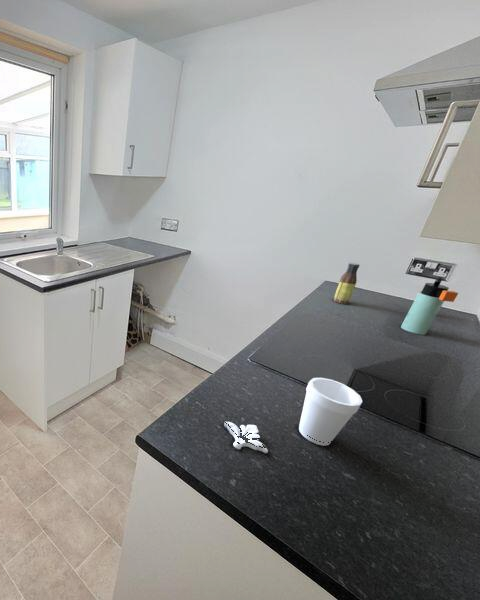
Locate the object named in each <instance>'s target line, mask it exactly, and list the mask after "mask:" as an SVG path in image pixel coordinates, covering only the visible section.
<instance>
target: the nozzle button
mask: <svg viewBox="0 0 480 600" xmlns="http://www.w3.org/2000/svg"><path fill="white" fill-rule="evenodd" d="M458 295H459V292H457V291H454V290H448V291H445V290H443V291H442V293H441V295H440V297H439V299H440V300H442V301H444V302H450V303H454V302H455V300H456V298H457V297H458Z"/></svg>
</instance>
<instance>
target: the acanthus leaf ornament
mask: <svg viewBox="0 0 480 600" xmlns="http://www.w3.org/2000/svg"><path fill="white" fill-rule="evenodd" d="M225 422H226V423H227V424H226V423H225ZM225 422H223V423H224V424H223V425H224V427H225V428H226V429H227V431H228V432H229V434H230V435H232V436H233V438H234V440H235V441H234V442H233V445H232V446H233V447H234V448H235V449H237V450H241V449H242V448H243V447H247V448H250V449H253V450H254V451H259V452H262V453H264V454H268V453H269V449H268V448H267V447H266V448H264V447H263V445H264V444H263V443H262V442H261V441H259V440H260V439H257V440H252V438H261V436H260V435H259V433H260V431H259V429H258V426H257V425H255V424H247V425H244V424H241V425H240V426H239V427H240V428H241V430H242V432H240V429H239V427H238V425H236V424H235V423H233V422H232V421H225ZM228 424H229V426H230V427H231V428H230V427H229V426H228ZM231 429H232V430H233V431H234V432H233V431H232V430H231ZM247 432H248V433H247ZM235 433H236V434H237V435H236V434H235ZM240 433H242V436H243V435H245V434H246V433H247V434H246V435H245V436H246V438H248V439H250V440H248V442H250V443H252V444H254V445H255V446H254V445H252V444H250V443H246V442H245V440H243V439H242V438H240V437H239V438H238V437H237V436H240ZM249 433H252V434H249ZM257 433H258V434H257ZM248 434H249V435H248ZM247 435H248V436H247ZM245 436H244V437H245ZM237 442H239V443H240V444H238V443H237ZM262 444H263V445H262ZM256 446H257V447H256ZM259 446H261V447H263V448H261V447H259Z"/></svg>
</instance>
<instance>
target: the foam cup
mask: <svg viewBox="0 0 480 600" xmlns="http://www.w3.org/2000/svg"><path fill="white" fill-rule="evenodd" d="M305 389H306V390H305V391H306V393H305V398H304V402H303V406H302V410H301V411H302V412H301V416H300V421H299V424H298V431H299V433H300V434H301V435H302V437H304V438H305V439H306V440H307V441H309V442H311V443H312V444H315V445H318V446H329V445H330V444H331V443H332V442H333V441H334V439H335V438H336V437H337V435H339V433H340V432H341V431H342V429H343V428H344V427H345V425H346V424H347V423H348V422H349V421H350V419H351V418H352V417H353V415H355V414H356V413H357V412H358V411H359V409H360V407H361V406H362V404H363V399H362V397H361V395H360V394H359V393H358V392H357V391H356V390H354V389H353V388H351V387H349V386H347V385H346V384H344V383H342V382H339V381H336V380H334V379H331V378H325V377H313V378H311V379H310V380H309V381H308V383H307V386H306V388H305ZM307 435H308V436H307ZM309 436H310V437H311V438H310V437H309ZM312 438H313V439H312ZM314 439H315V440H314ZM316 440H317V441H316ZM319 441H321V442H319ZM331 441H332V442H331ZM323 442H324V443H323ZM328 442H329V443H328Z"/></svg>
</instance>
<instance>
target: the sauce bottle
mask: <svg viewBox="0 0 480 600" xmlns="http://www.w3.org/2000/svg"><path fill="white" fill-rule="evenodd" d="M360 265H361V264H360V263H356V262H355V263H354V262H348V265H347V269H346V272H345V273H344V274H342V275H341V277H340V280H339V282H338V285H337V287H336V291H335V293H334V296H333V301H334V302H335V303H337V304H342V305H347V304H349V302H350V300H351V298H352V296H353V293H354V290H355V287H356V285H357V281H358V280H357V273H358V270H359V268H360Z"/></svg>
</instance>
